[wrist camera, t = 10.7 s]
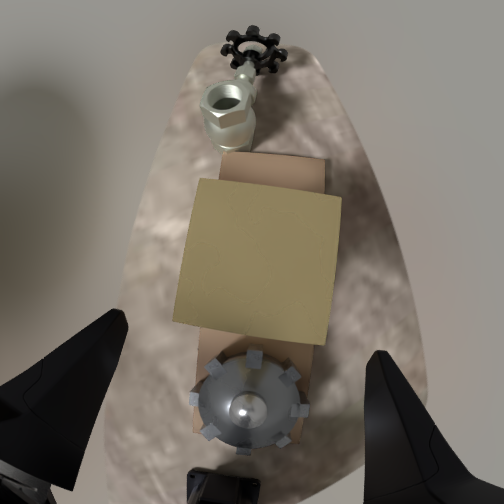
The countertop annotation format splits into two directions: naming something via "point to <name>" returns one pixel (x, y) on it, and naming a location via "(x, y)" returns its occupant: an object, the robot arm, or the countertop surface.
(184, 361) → the countertop surface
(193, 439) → the countertop surface
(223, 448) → the countertop surface
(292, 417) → the sun gear
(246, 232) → the gold tall block
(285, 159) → the carrier board
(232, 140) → the valve
